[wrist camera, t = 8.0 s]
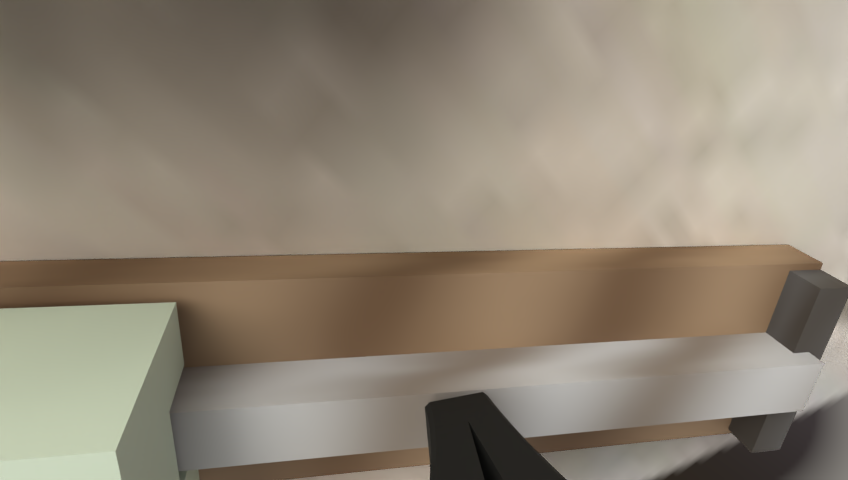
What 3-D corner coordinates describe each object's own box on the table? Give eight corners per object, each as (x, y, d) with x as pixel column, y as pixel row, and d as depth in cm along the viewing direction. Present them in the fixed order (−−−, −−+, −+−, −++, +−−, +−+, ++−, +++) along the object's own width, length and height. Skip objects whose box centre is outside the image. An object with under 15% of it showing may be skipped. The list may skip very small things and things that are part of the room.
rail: (788, 244, 16) (1029, 374, 11) (727, 405, 18) (899, 575, 13) (-206, 266, 11) (-685, 527, 6) (-109, 481, 13) (-379, 805, 8)
